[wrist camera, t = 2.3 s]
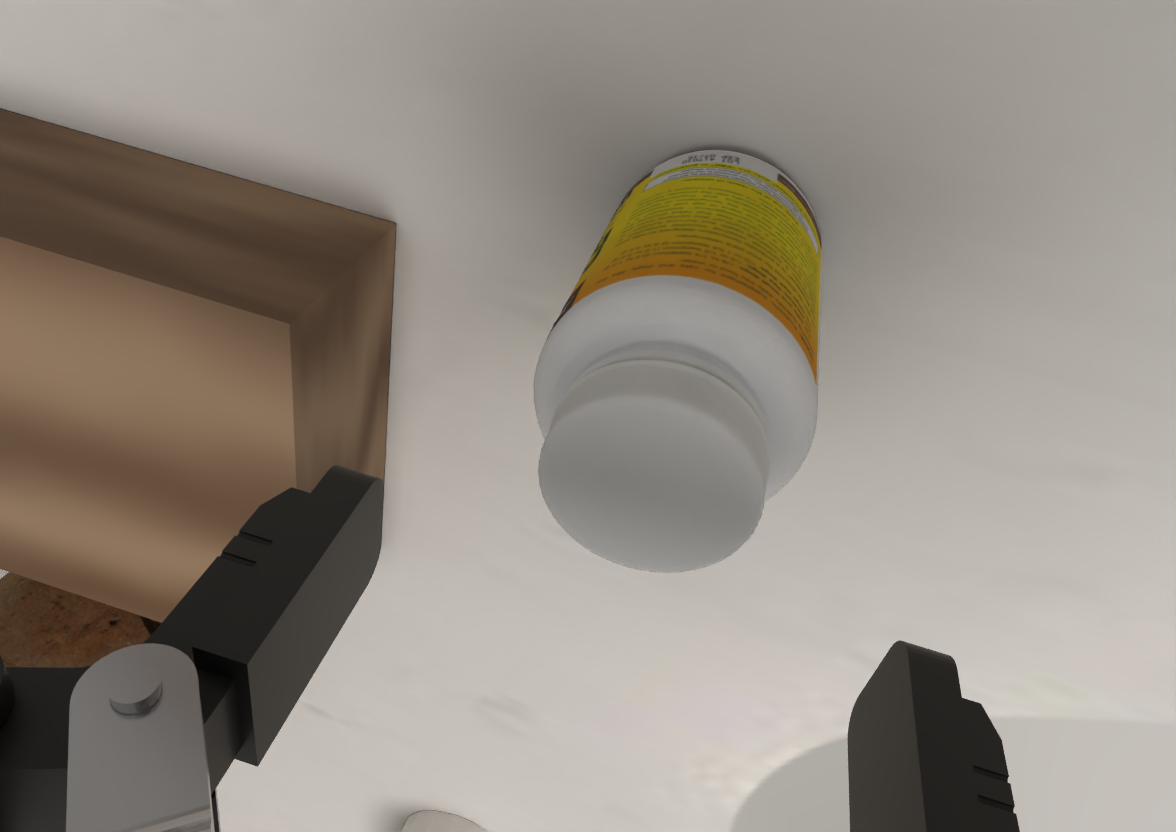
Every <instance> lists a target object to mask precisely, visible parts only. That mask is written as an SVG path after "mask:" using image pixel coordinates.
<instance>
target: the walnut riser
mask: <svg viewBox="0 0 1176 832" xmlns="http://www.w3.org/2000/svg"><path fill="white" fill-rule="evenodd" d="M395 239H396V223H392V222H389V221H385V220H382V219H378V218H375V217H371V216H368V215H365V214H361V213H358V212H354V211H351V210H347V209H344V208H340V207H337V206H334V205H330V204H327V203H323V202H320V201H316V200H313V199H309V198H306V197H302V196H299V195H296V194H292V193H289V192H285V191H282V190H278V189H275V188H271V187H268V186H265V185H261V184H258V183H254V182H251V181H247V180H244V179H240V178H237V177H234V176H230V175H227V174H223V173H220V172H216V171H213V170H209V169H206V168H202V167H199V166H196V165H192V164H189V163H185V162H182V161H178V160H175V159H171V158H168V157H165V156H161V155H158V154H154V153H151V152H147V151H144V150H140V149H137V148H134V147H130V146H127V145H123V144H120V143H116V142H113V141H109V140H106V139H102V138H99V137H96V136H92V135H89V134H85V133H82V132H78V131H75V130H71V129H68V128H65V127H61V126H58V125H54V124H51V123H47V122H44V121H40V120H37V119H34V118H30V117H27V116H23V115H20V114H16V113H13V112H9V111H6V110H3V109H0V569H2V570H5V571H8V572H11V573H14V574H17V575H20V576H23V577H26V578H29V579H32V580H35V581H38V582H41V583H44V584H47V585H50V586H53V587H56V588H59V589H62V590H65V591H68V592H71V593H74V594H77V595H80V596H83V597H86V598H89V599H92V600H95V601H98V602H101V603H104V604H107V605H110V606H113V607H116V608H119V609H122V610H125V611H128V612H131V613H134V614H137V615H140V616H143V617H146V618H149V619H152V620H155V621H158V622H161V623H162V622H163V621H164V620H165V619H166V617H167V616H168V615H169V614H170V613H171V611H172V610H173V609H174V608H175V607H176V605H177V604H178V603H179V602H180V601H181V599H182V598H183V597H184V596H185V595H186V593H187V592H188V591H189V590H190V589H191V587H192V586H193V585H194V584H195V583H196V581H197V580H198V579H199V578H200V577H201V576H202V574H203V573H204V572H205V571H206V570H207V568H208V567H209V566H210V565H211V564H212V562H213V561H214V560H215V559H216V558H217V556H219V557H220V556H221V554H222V550H223V549H224V548H225V547H226V546H227V544H228V543H229V542H230V541H231V540H232V538H233V537H234V536H237V535H238V534H239V530H240V529H241V528H242V526H243V525H244V524H245V523H246V522H247V521H248V519H249V518H250V517H251V516H252V515H253V513H254V512H255V511H256V510H257V509H258V507H259V506H260V505H262V504H263V503H265V502H267V501H268V500H270V499H272V498H274V497H275V496H277V495H279V494H280V493H282V492H284V491H286V490H287V489H289V488H291V487H292V488H296V489H299V490H302V491H305V492H308V493H311V492H312V491H313V489H314V488H315V487H316V485H317V484H318V483H319V482H320V480H321V479H322V478H323V476H324V475H325V474H326V473H327V471H328V470H329V469H330V468H331V467H333V466H335V465H338V466H341V467H344V468H348V469H351V470H354V471H357V472H361V473H364V474H367V475H370V476H374V477H377V478H380V479H382V480H383V483H384V471H385V450H386V429H387V408H388V387H389V365H390V344H391V323H392V302H393V281H394V260H395Z"/></svg>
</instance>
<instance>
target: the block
mask: <svg viewBox="0 0 1176 832" xmlns="http://www.w3.org/2000/svg"><path fill="white" fill-rule="evenodd" d="M160 625H161V622H158V621H155V620H152V619H149V618H146V617H143V616H140V615H137V614H134V613H131V612H128V611H125V610H122V609H119V608H116V607H113V606H110V605H107V604H104V603H101V602H98V601H95V600H92V599H89V598H86V597H83V596H80V595H77V594H74V593H71V592H68V591H65V590H62V589H59V588H56V587H53V586H50V585H47V584H44V583H41V582H38V581H35V580H32V579H29V578H26V577H23V576H20V575H17V574H14V573H11V572H9V573H8V574H7V575H5V576H4V577H3V578H2V579H0V656H1V658H2V659H3V662H4V664H5V667H51V668H74V667H86V666H92V665H93V664H94V663H96V662H97V661H99V660H100V659H102V658H103V657H105V656H107V655H108V654H110V653H112V652H114V651H117V650H119V649H122V648H125V647H129V646H133V645H138V644H142V643H143V642H144V641H145V640H147V639H148V638H149V637H150V636H151V635H152V634H153V633H154V632H155V631H156V629H157V628H158V627H159V626H160Z"/></svg>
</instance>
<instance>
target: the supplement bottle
mask: <svg viewBox="0 0 1176 832" xmlns="http://www.w3.org/2000/svg"><path fill="white" fill-rule="evenodd" d="M821 278H822V245H821V236H820V231H819V227H818V223H817V220H816V218H815V215H814V213H813V210H812V208H811V206H810V204H809V203H808V201H807V199H806V198H805V196H804V195H803V194H802V192H801V191H800V190H799V189H798V187H797V186H796V185H795V184H794V183H793V182H792V181H791V179H790V178H788V177H787V176H786V175H785V174H783V173H782V172H781V171H779V170H778V169H777V168H775V167H774V166H772V165H770V164H768V163H767V162H765V161H762V160H760V159H758V158H755V157H753V156H750V155H746V154H743V153H738V152H733V151H726V150H703V151H696V152H691V153H687V154H683V155H680V156H677V157H674V158H672V159H669V160H667V161H665V162H663V163H661V164H660V165H658V166H656V167H655V168H653V169H652V170H650V171H649V172H648V173H646V174H645V175H644V176H643V177H642V178H640V179H639V180H638V181H637V182H636V183H635V184H634V186H633V187H632V188H631V189H630V191H629V192H628V193H627V194H626V196H625V197H624V199H623V201H622V202H621V204H620V205H619V207H618V209H617V210H616V212H615V214H614V216H613V218H612V219H611V221H610V223H609V225H608V227H607V229H606V231H605V232H604V234H603V236H602V238H601V240H600V242H599V244H598V245H597V247H596V249H595V251H594V253H593V254H592V256H591V258H590V260H589V262H588V264H587V266H586V268H585V269H584V271H583V273H582V275H581V277H580V279H579V281H578V283H577V285H576V287H575V288H574V290H573V292H572V294H571V296H570V298H569V299H568V301H567V303H566V304H565V306H564V308H563V310H562V312H561V314H560V316H559V318H558V319H557V321H556V322H555V323H554V325H553V328H552V330H551V332H550V334H549V336H548V338H547V340H546V342H545V344H544V346H543V349H542V352H541V354H540V357H539V360H538V363H537V367H536V372H535V378H534V404H535V410H536V415H537V419H538V422H539V426H540V429H541V432H542V434H543V437H544V438H545V442H544V444H543V447H542V449H541V455H540V460H539V470H538V472H539V483H540V488H541V491H542V494H543V497H544V499H545V502H546V504H547V506H548V508H549V510H550V512H551V513H552V515H553V516H554V518H555V519H556V521H557V522H558V523H559V524H560V525H561V526H562V528H563V529H564V530H565V531H566V532H567V533H568V534H569V535H570V536H571V537H572V538H573V539H575V540H576V541H577V542H579V543H580V544H581V545H583V546H584V547H585V548H587V549H588V550H590V551H591V552H593V553H595V554H597V555H599V556H601V557H603V558H605V559H607V560H609V561H612V562H614V563H617V564H620V565H623V566H626V567H630V568H634V569H638V570H644V571H650V572H665V573H670V572H684V571H690V570H696V569H699V568H703V567H706V566H709V565H712V564H715V563H717V562H719V561H721V560H723V559H725V558H726V557H728V556H730V555H731V554H733V553H734V552H735V551H736V550H738V549H739V548H740V547H741V546H742V545H743V544H744V543H745V542H746V541H747V540H748V539H749V538H750V536H751V535H752V534H753V532H754V530H755V528H756V527H757V525H758V522H759V520H760V518H761V514H762V510H763V507H764V501H766V500H767V499H769V498H770V497H772V496H773V495H775V494H776V493H777V492H778V491H779V490H780V489H781V488H783V487H784V486H785V485H786V484H787V483H788V482H789V481H790V480H791V478H792V477H793V476H794V475H795V474H796V472H797V471H798V470H799V468H800V466H801V464H802V463H803V461H804V460H805V458H806V455H807V453H808V451H809V449H810V446H811V444H812V440H813V437H814V434H815V428H816V421H817V406H818V368H819V341H820V315H821Z"/></svg>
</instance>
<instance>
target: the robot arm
mask: <svg viewBox="0 0 1176 832" xmlns="http://www.w3.org/2000/svg"><path fill="white" fill-rule="evenodd" d="M383 497H384V483H383V480H382V479H380V478H377V477H374V476H370V475H367V474H364V473H361V472H357V471H354V470H351V469H348V468H344V467H341V466H338V465H335V466H333V467H331V468H330V469H329V470H328V471H327V473H326V474H325V475H324V476H323V478H322V479H321V480H320V482H319V483H318V484H317V485H316V487H315V488H314V489H313V491H312V492H311V493H308V492H305V491H302V490H299V489H296V488H292V487H291V488H289V489H287V490H286V491H284V492H282V493H280V494H279V495H277V496H275V497H274V498H272V499H270V500H268V501H267V502H265V503H263V504H262V505H260V506H259V507H258V509H257V510H256V511H255V512H254V513H253V515H252V516H251V517H250V518H249V519H248V521H247V522H246V523H245V524H244V525H243V526H242V528H241V529H240V530H239V534H238V535H237V536H234V537H233V538H232V540H231V541H230V542H229V543H228V544H227V546H226V547H225V548H224V549H223V550H222V554H221V556H220V557H219V556H217V558H216V559H215V560H214V561H213V562H212V564H211V565H210V566H209V567H208V568H207V570H206V571H205V572H204V573H203V574H202V576H201V577H200V578H199V579H198V580H197V581H196V583H195V584H194V585H193V586H192V587H191V589H190V590H189V591H188V592H187V593H186V595H185V596H184V597H183V598H182V599H181V601H180V602H179V603H178V604H177V605H176V607H175V608H174V609H173V610H172V611H171V613H170V614H169V615H168V616H167V617H166V619H165V620H164V621H163V622H162V623H161V625H160V626H159V627H158V628H157V629H156V631H155V632H154V633H153V634H152V635H151V636H150V637H149V638H148V639H147V640H145V641H144V642H143V643H142V644H138V645H133V646H129V647H125V648H122V649H119V650H117V651H114V652H112V653H110V654H108V655H107V656H105V657H103V658H102V659H100V660H99V661H97V662H96V663H94V664H93V665H92V666H86V667H74V668H51V667H5V664H4V662H3V659H2V658H1V656H0V832H221V828H220V819H219V809H218V799H217V789H216V787H217V785H218V784H219V782H220V781H221V779H222V777H223V776H224V774H225V773H226V771H227V770H228V768H229V766H230V765H231V763H232V762H233V760H234V759H237V760H240V761H243V762H246V763H249V764H252V765H255V766H258V765H259V764H260V762H261V760H262V759H263V757H264V755H265V754H266V752H267V750H268V749H269V747H270V745H271V744H272V742H273V740H274V739H275V737H276V736H277V734H278V732H279V731H280V729H281V727H282V726H283V724H284V722H285V721H286V719H287V717H288V716H289V714H290V712H291V711H292V709H293V707H294V706H295V704H296V702H297V701H298V699H299V697H300V696H301V694H302V693H303V691H304V689H305V688H306V686H307V684H308V683H309V681H310V679H311V678H312V676H313V674H314V673H315V671H316V669H317V668H318V666H319V664H320V663H321V661H322V659H323V658H324V656H325V655H326V653H327V651H328V650H329V648H330V646H331V645H332V643H333V641H334V640H335V638H336V636H337V635H338V633H339V631H340V630H341V628H342V626H343V625H344V623H345V621H346V620H347V618H348V616H349V615H350V613H351V612H352V610H353V608H354V607H355V605H356V603H357V602H358V600H359V598H360V597H361V595H362V593H363V592H364V590H365V588H366V587H367V585H368V583H369V581H370V579H371V577H372V575H373V573H374V570H375V567H376V565H377V561H378V558H379V554H380V549H381V535H382V516H383ZM848 767H849V768H848V769H849V805H850V832H1020V831H1019V826H1018V821H1017V816H1016V814H1015V813H1013V808H1014V801H1013V795H1012V790H1011V785H1010V784H1009V783H1008V782H1007V779H1008V777H1009V775H1008V770H1007V765H1006V760H1005V755H1004V750H1003V745H1002V740H1001V738H1000V737H999V735H998V733H997V731H996V729H995V728H994V726H993V724H992V722H991V721H990V719H989V717H988V715H987V714H986V712H985V710H984V708H983V707H982V705H981V704H980V703H977V702H974V701H970V700H967V699H964V698H962V696H961V690H960V684H959V678H958V671H957V666H956V663H955V661H954V659H953V658H952V657H951V656H949V655H946V654H942V653H939V652H936V651H933V650H930V649H926V648H923V647H920V646H917V645H913V644H910V643H907V642H904V641H897V642H896V643H894V644H893V646H892V647H891V648H890V650H889V651H888V653H887V654H886V656H885V657H884V659H883V660H882V662H881V663H880V665H879V666H878V668H877V669H876V671H875V672H874V674H873V675H872V677H871V678H870V680H869V681H868V683H867V684H866V686H865V687H864V689H863V690H862V692H861V693H860V695H859V697H858V698H857V700H856V702H855V705H854V707H853V710H852V713H851V717H850V722H849V729H848Z"/></svg>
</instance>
